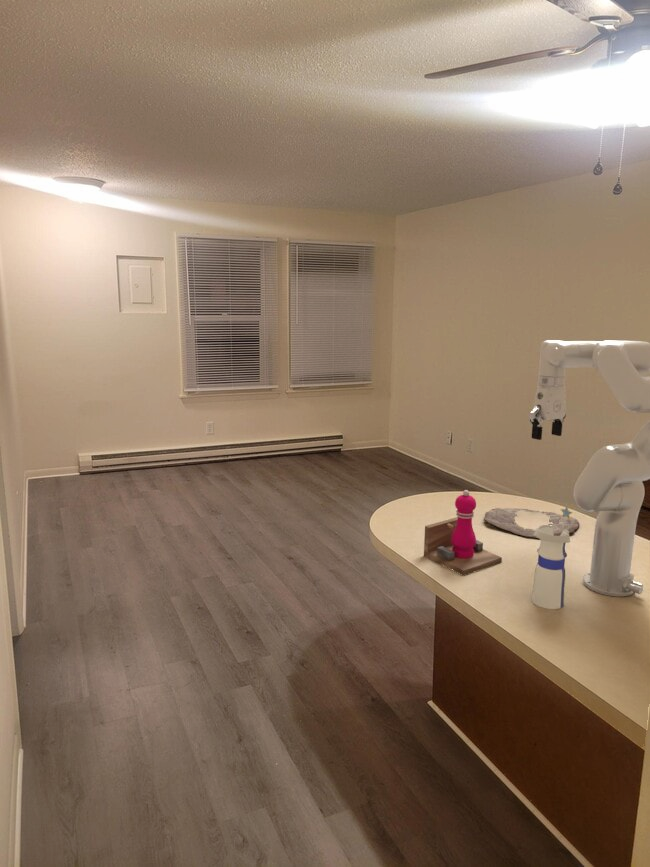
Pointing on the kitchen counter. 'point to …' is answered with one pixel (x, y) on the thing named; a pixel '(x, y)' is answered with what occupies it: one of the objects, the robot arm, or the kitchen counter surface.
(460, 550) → the pepper mill
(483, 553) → the pegged stand
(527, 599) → the kitchen counter surface
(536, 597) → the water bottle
